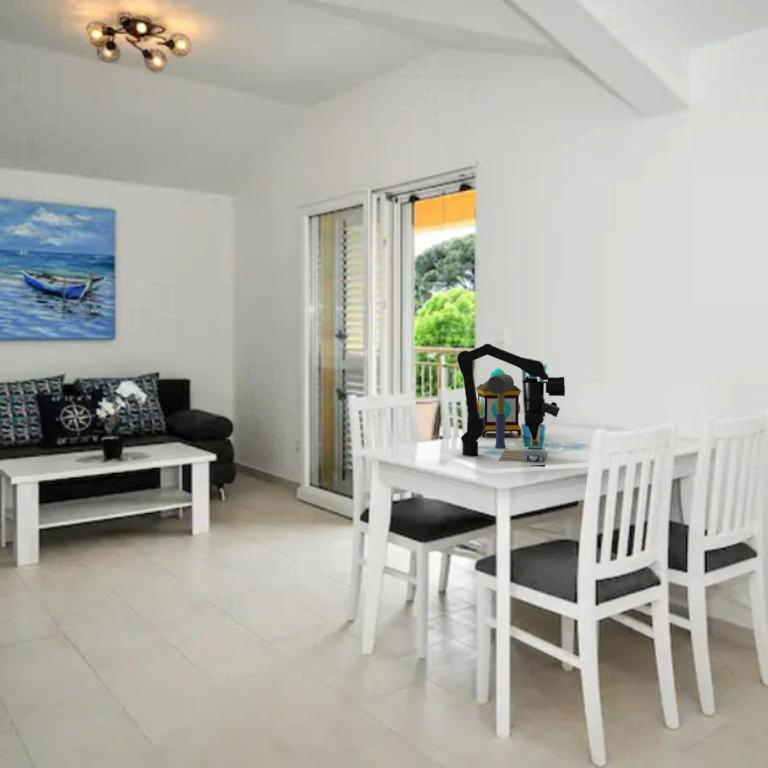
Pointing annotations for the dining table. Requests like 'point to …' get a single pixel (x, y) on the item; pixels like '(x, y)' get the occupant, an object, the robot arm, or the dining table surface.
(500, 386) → the rubber mallet
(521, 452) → the board
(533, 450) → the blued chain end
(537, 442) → the pin
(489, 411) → the decorative lantern
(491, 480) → the dining table surface
